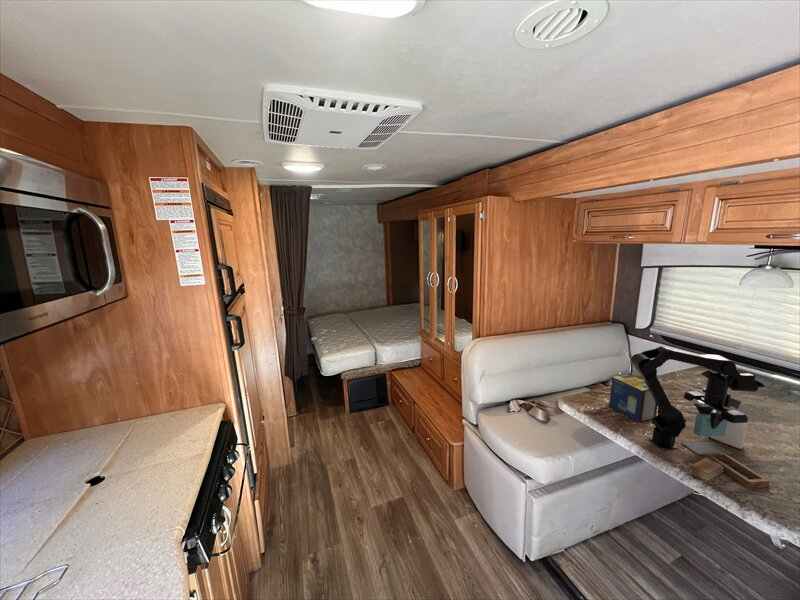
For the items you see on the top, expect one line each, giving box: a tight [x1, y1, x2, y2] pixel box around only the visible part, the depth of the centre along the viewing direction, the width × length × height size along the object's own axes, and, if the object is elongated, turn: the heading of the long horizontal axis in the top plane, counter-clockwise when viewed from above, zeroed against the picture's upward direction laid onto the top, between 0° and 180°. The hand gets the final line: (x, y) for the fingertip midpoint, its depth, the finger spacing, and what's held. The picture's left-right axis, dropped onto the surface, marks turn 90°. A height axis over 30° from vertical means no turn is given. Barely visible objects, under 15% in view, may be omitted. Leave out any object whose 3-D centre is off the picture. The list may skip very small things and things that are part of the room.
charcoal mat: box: [681, 441, 733, 457], centre depth 121 cm, size 13×7×1 cm, turn 92°
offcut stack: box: [688, 457, 725, 482], centre depth 109 cm, size 5×11×3 cm, turn 113°
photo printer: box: [707, 409, 748, 450], centre depth 124 cm, size 10×4×12 cm, turn 29°
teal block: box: [693, 413, 727, 437], centre depth 119 cm, size 2×10×8 cm, turn 92°
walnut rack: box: [704, 453, 771, 488], centre depth 109 cm, size 7×14×2 cm, turn 2°
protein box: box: [608, 374, 658, 422], centre depth 147 cm, size 10×15×16 cm
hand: (709, 426), depth 119 cm, fingers closed on teal block, 2 cm apart
